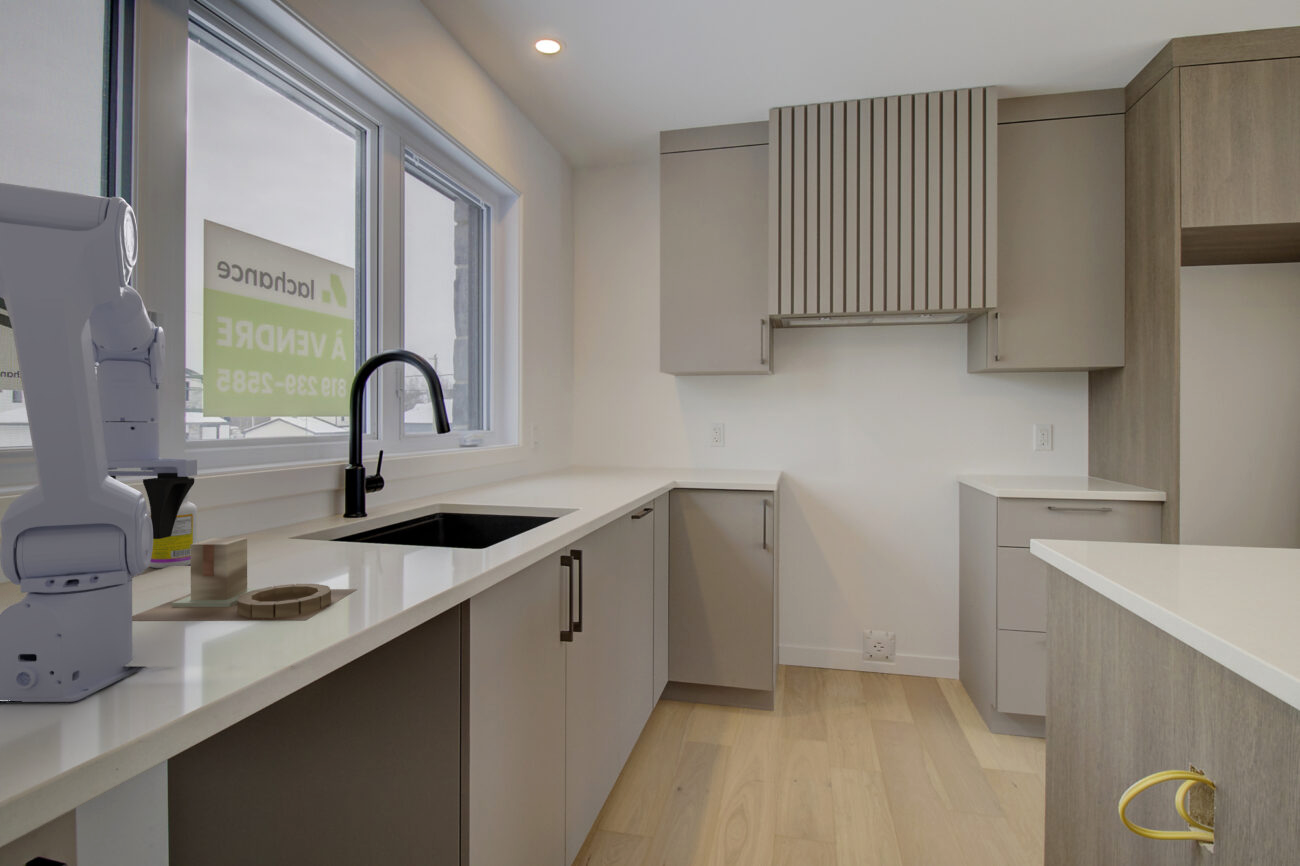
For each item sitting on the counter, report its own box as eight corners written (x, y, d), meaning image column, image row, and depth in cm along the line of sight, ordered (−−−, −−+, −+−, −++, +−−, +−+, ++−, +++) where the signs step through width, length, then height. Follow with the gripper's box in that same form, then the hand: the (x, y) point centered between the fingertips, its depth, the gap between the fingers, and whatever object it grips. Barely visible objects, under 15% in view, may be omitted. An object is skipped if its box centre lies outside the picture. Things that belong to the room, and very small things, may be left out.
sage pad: (229, 606, 79) (229, 602, 79) (172, 606, 79) (172, 602, 79) (262, 592, 86) (262, 588, 86) (209, 592, 86) (209, 588, 86)
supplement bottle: (162, 561, 111) (162, 487, 111) (205, 560, 112) (204, 486, 112) (139, 570, 104) (138, 491, 104) (184, 568, 105) (184, 490, 105)
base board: (305, 630, 74) (305, 607, 74) (120, 631, 74) (120, 607, 74) (357, 597, 88) (357, 578, 88) (201, 598, 88) (201, 578, 88)
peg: (247, 590, 85) (247, 538, 85) (226, 600, 81) (225, 544, 80) (213, 590, 85) (213, 538, 85) (190, 600, 80) (190, 544, 80)
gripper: (213, 422, 79) (214, 531, 80) (93, 421, 79) (94, 531, 79) (173, 422, 72) (173, 542, 73) (41, 421, 72) (41, 542, 72)
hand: (129, 537), depth 75 cm, fingers open, 7 cm apart
